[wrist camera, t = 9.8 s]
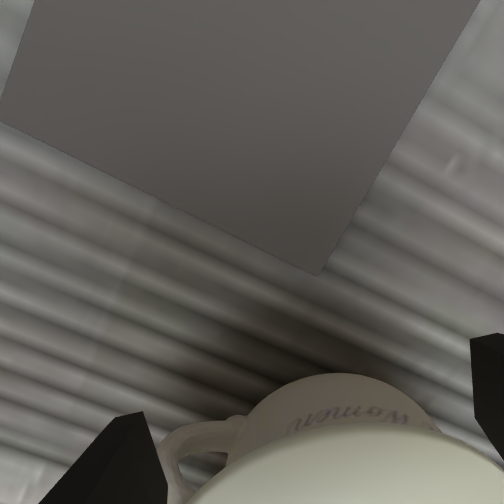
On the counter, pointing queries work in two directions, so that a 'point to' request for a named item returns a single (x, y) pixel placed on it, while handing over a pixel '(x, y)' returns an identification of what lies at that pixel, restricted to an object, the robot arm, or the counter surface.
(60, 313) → the counter surface
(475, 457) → the lid
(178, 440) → the teacup
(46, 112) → the mat
